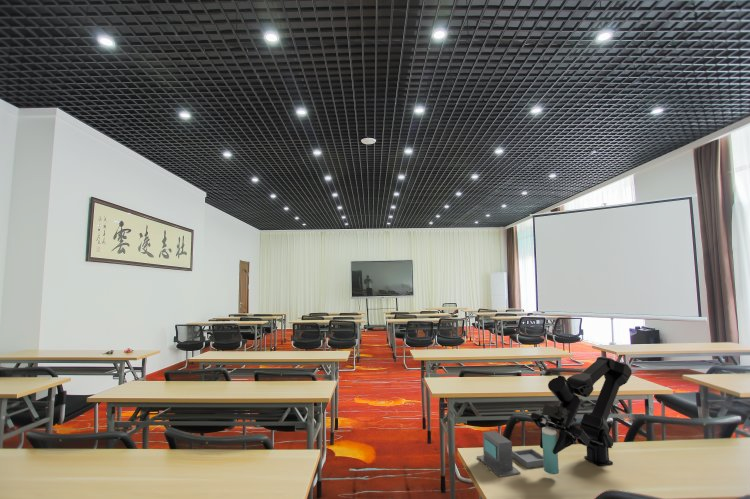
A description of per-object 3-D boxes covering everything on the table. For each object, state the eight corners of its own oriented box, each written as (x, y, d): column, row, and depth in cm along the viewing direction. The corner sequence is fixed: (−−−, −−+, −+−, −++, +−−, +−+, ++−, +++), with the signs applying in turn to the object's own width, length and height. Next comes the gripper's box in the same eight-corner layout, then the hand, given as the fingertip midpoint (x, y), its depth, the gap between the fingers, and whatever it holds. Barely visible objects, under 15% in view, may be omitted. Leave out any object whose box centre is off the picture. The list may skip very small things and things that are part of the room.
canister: (552, 466, 122) (550, 426, 124) (561, 473, 118) (559, 431, 119) (540, 468, 121) (538, 427, 123) (550, 475, 117) (548, 432, 118)
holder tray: (532, 454, 137) (531, 448, 137) (548, 465, 128) (548, 459, 129) (512, 457, 134) (511, 451, 135) (527, 468, 126) (527, 462, 126)
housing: (496, 455, 136) (495, 428, 137) (520, 473, 122) (519, 443, 123) (477, 457, 134) (476, 430, 135) (499, 477, 120) (498, 446, 121)
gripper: (532, 388, 132) (511, 425, 126) (581, 403, 116) (561, 447, 109) (547, 407, 135) (528, 445, 129) (598, 424, 119) (579, 468, 112)
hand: (547, 450), depth 120 cm, fingers closed on canister, 4 cm apart
